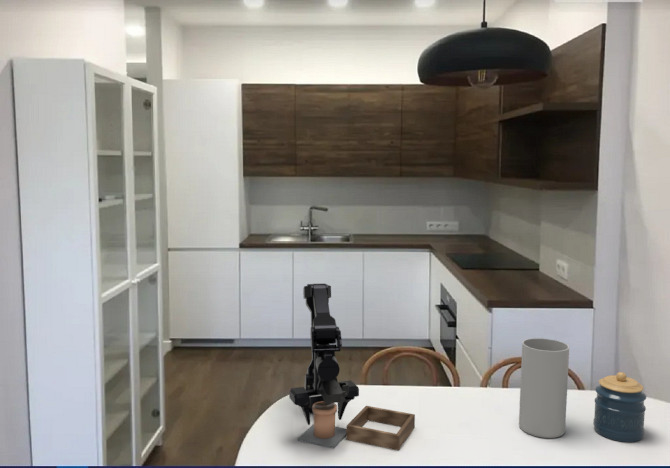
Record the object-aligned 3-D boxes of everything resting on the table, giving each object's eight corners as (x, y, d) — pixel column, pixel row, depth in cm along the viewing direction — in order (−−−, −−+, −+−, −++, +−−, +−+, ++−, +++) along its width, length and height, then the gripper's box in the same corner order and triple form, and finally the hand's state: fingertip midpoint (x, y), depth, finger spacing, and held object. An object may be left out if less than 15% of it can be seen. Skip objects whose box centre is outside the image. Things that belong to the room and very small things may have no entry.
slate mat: (297, 440, 157) (297, 438, 157) (315, 424, 167) (315, 422, 167) (334, 448, 153) (334, 446, 153) (350, 431, 163) (350, 429, 163)
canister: (639, 426, 167) (643, 367, 165) (647, 446, 155) (652, 383, 153) (591, 420, 171) (594, 362, 170) (595, 438, 159) (598, 377, 157)
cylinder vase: (522, 416, 173) (525, 336, 171) (566, 425, 168) (570, 341, 165) (515, 433, 162) (519, 347, 159) (563, 442, 157) (567, 353, 154)
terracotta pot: (307, 436, 158) (308, 408, 157) (318, 426, 164) (318, 399, 163) (330, 441, 155) (330, 412, 155) (340, 431, 162) (340, 403, 161)
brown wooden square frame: (346, 439, 158) (346, 425, 157) (365, 418, 171) (366, 405, 171) (398, 450, 152) (398, 436, 151) (414, 427, 165) (414, 414, 165)
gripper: (301, 381, 147) (300, 439, 149) (367, 373, 154) (366, 428, 155) (288, 367, 157) (288, 422, 159) (351, 360, 164) (351, 412, 166)
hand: (324, 421), depth 160 cm, fingers open, 9 cm apart
